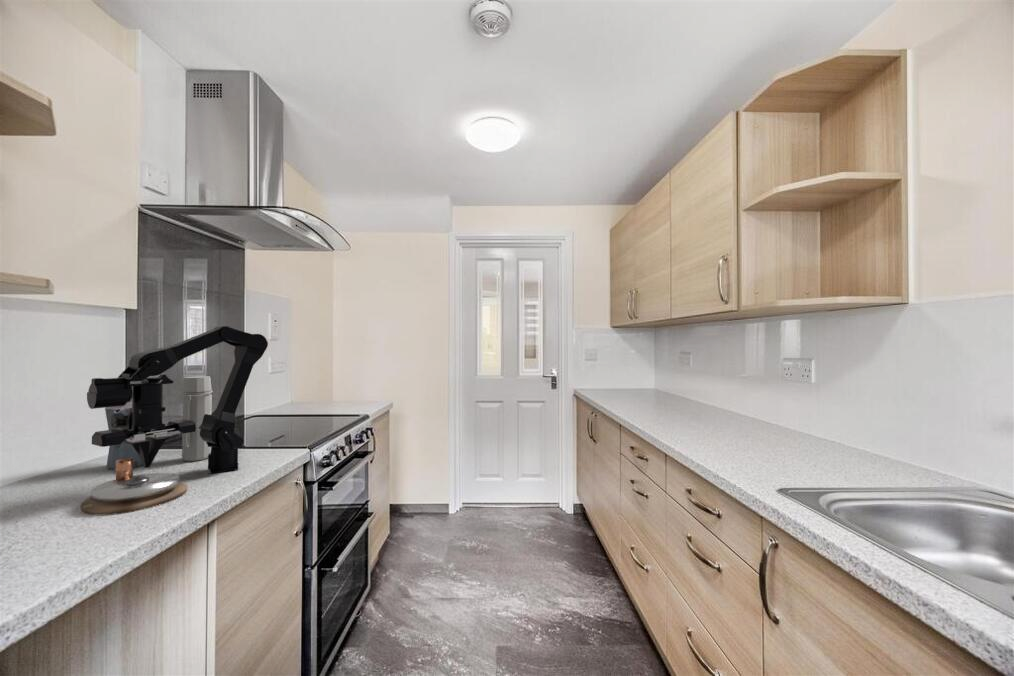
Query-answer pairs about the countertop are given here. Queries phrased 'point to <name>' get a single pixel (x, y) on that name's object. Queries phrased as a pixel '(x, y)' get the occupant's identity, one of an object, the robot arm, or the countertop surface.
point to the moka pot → (123, 448)
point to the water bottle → (196, 416)
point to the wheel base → (132, 502)
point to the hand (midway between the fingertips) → (146, 467)
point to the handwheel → (133, 484)
